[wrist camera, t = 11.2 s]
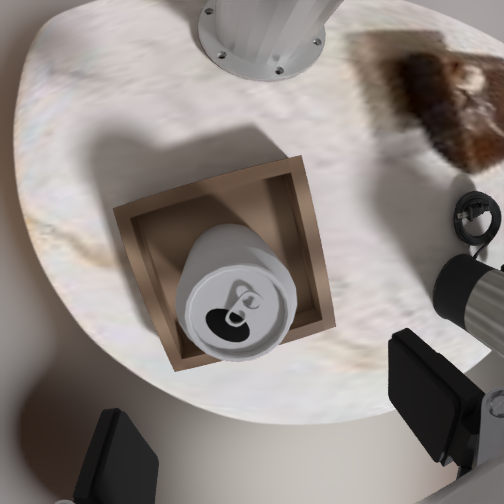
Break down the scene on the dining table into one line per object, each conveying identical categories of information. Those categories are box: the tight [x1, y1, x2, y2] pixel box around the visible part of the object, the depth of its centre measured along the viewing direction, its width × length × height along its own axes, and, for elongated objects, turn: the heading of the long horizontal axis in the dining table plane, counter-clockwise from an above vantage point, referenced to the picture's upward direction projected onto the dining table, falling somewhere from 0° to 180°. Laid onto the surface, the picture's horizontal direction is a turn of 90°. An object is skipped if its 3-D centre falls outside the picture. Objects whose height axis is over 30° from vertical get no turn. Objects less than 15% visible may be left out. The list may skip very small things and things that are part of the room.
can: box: [175, 223, 297, 362], centre depth 22 cm, size 8×8×12 cm
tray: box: [113, 155, 336, 372], centre depth 27 cm, size 16×16×4 cm
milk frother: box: [434, 191, 504, 359], centre depth 26 cm, size 14×16×15 cm
